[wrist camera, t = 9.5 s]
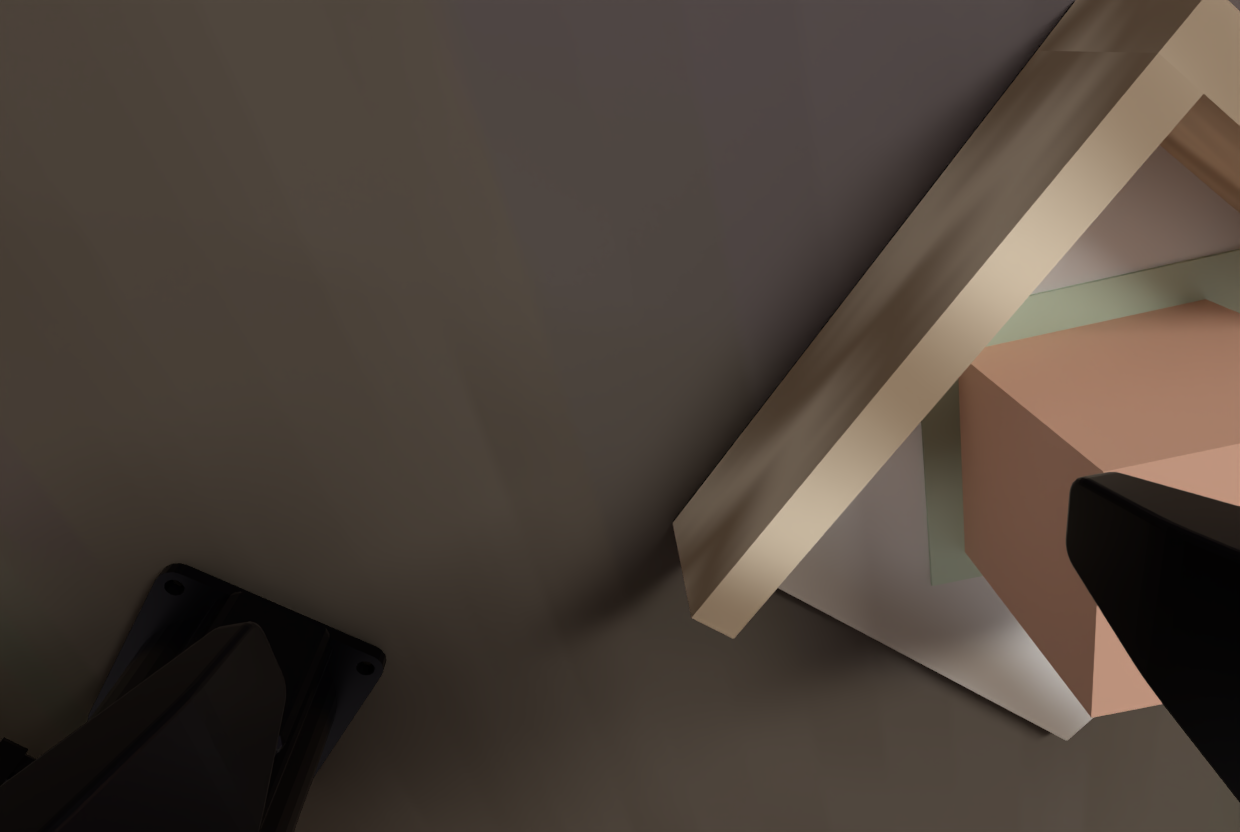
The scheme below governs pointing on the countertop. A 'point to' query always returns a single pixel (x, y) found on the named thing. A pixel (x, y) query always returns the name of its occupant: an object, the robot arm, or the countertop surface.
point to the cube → (1091, 463)
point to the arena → (980, 342)
